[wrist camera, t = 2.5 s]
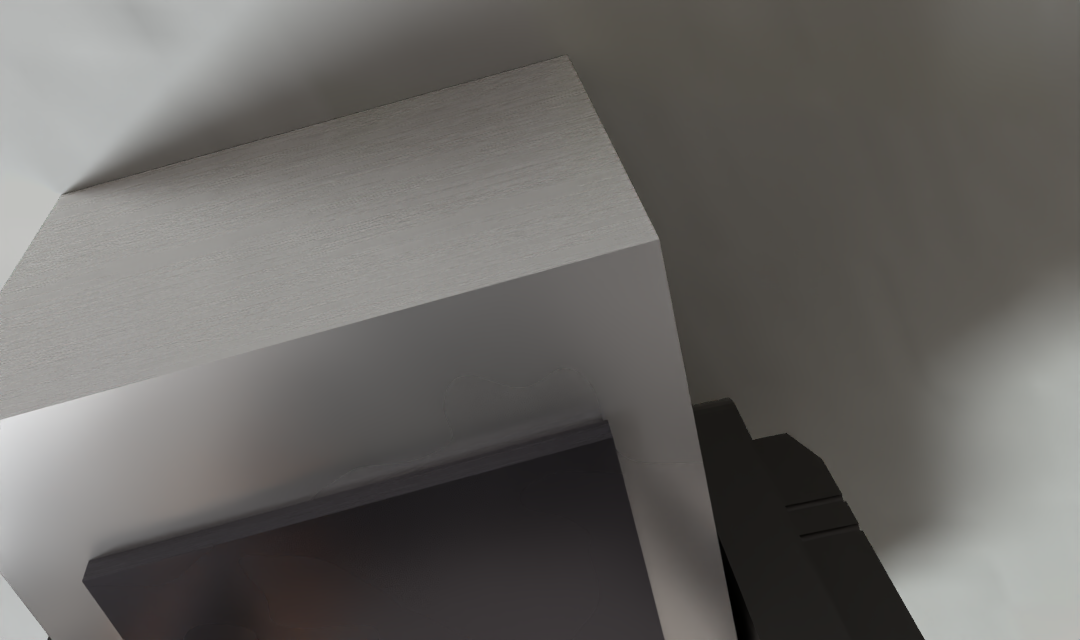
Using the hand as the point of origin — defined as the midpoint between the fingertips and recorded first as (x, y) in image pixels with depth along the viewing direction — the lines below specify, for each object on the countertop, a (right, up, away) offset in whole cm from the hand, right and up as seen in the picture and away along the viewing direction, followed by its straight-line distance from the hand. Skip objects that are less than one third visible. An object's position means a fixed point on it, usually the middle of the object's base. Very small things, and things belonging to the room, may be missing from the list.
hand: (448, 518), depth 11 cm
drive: (0, 0, +1) cm, 1 cm away
